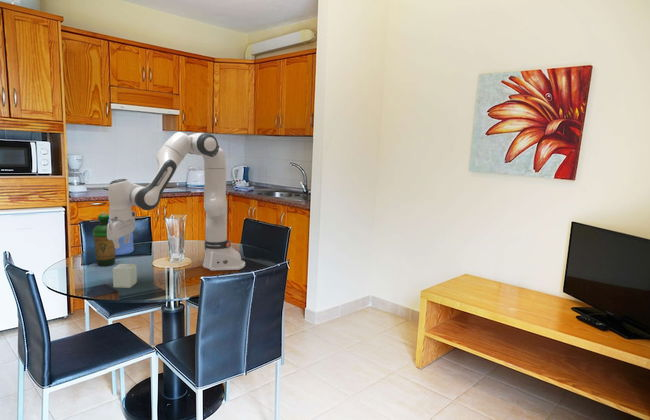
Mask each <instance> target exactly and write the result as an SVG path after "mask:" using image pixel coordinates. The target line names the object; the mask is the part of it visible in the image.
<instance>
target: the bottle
mask: <svg viewBox="0 0 650 420" xmlns="http://www.w3.org/2000/svg"><path fill="white" fill-rule="evenodd" d="M109 219H110V218H109V214H108V212H106V211H101V212H99V214H98V215H97V221H98V223H99V224H98V225H96V226H94V228H93V229H92V235H93V243H94V250H95V251H94V252H95V260H96V265H97V266H100V267H108V266H113V265H114V264H115V263H116V255H115V247H114V243H113V240H108V239H107V225H108V220H109Z"/></svg>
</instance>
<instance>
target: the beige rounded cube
mask: <svg viewBox="0 0 650 420" xmlns="http://www.w3.org/2000/svg"><path fill="white" fill-rule="evenodd" d="M137 275H138V273H137V263H136V264H134V263H119V264H117V265H116V266H115V267H112V284H113V288H120V289H121V288H127V289H128V288H129V289H130V288H132V287H133V286H134V285H136V284H137V283H138V277H137Z"/></svg>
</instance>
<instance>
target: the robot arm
mask: <svg viewBox="0 0 650 420" xmlns="http://www.w3.org/2000/svg"><path fill="white" fill-rule="evenodd" d="M224 152H225V151H224V150H223V149H222V147H220V145H219V143H218V139H217V138H216V136H214V135H213V134H211V133H209V132H196V133H189V134H187V133H185V132H182V131H177V132H175V133H174V134H173V135H171V136H170V137H169V138H168V139H167V140H166V141H165V143H164V144H163V145H162V146H161V147H160V149H159V150H158V152H157V154H156V156H155V157H156V163H157V165H158V171H157V172H156V174H155V175H154V176H153V179H152V180H151V181H150V183H149V184H148V185H146V186H143V185H139V184H137V183H134V182H132V181H130V180H128V179H127V178H120V179H119V178H118V179H114V180H111V181H110V182H109V184H108V190H107V191H108V192H107V194H108V196H107V197H108V202H109V207H108V213H109V214H108V215H109V216H110V222H109V223H108V225H107V239H108V240H113V243H114V247H115V248H119V247H120V244H119V242H118V241H119V238H121V237H123V236H125V239H124V243H129V238H130V233H131V232H134V231H135V228H136V218H135V217H136V211H134V210H132V207H134V206H135V207H137V208H139V209H142V210H143V211H151V210H153V209H155V208H157V207H158V206H159V204H160V202H161V198H162V194H163V192H164V190H165V189H166V188H167V186H168V185H169V182H170V181H171V180H172V178H173V176H174V174H175V173H176V170H177V168H178V167H179V165H180V164H181V163H182V162H183V160H184V159H185V157H186V156H187V155H188V154H190V155H196V156H202V159H203V162H204V163H203V168H204V169H203V174H204V175H203V176H204V177H203V178H204V186H203V187H204V188H203V189H204V192H203V208H204V211H205V224H204V225H205V231H204V232H205V239H204V251H205V252H204V259H203V260H204V261H203V264H202V267H203V268H205V269H209V271H233V270H242V269H243V268H245V266H246V262H245V260H242V256H241V253H240V252H238V250H235V249H234V247H232V246H231V244H232V243H231V240H229V239H227V238H228V237H227V236H228V235H227V233H228V231H227V230H228V228H227V226H228V222H227V221H228V200H227V166H226V165H227V164H226V156H225V153H224Z"/></svg>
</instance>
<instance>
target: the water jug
mask: <svg viewBox="0 0 650 420" xmlns="http://www.w3.org/2000/svg"><path fill="white" fill-rule="evenodd" d="M109 218H110V216H109ZM109 222H110V219H109V220H108V223H109ZM133 232H134V231H133ZM133 232H131V233H130V238H129V243H124V239H125V236H123V237H121V238H119V241H118V242H119V244H120V247H119V248H115V256H124V255H125V256H126V255H129V254H131V253H133V252H134V249H135V247H134V233H133Z"/></svg>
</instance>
